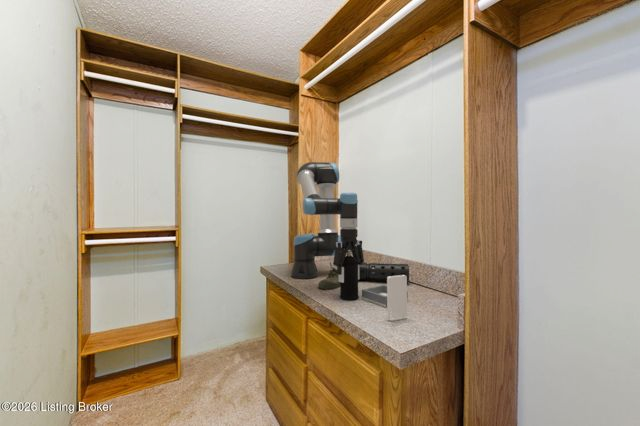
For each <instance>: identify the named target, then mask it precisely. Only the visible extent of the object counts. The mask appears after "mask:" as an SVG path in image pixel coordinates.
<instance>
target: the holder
mask: <svg viewBox="0 0 640 426" xmlns="http://www.w3.org/2000/svg"><path fill="white" fill-rule="evenodd" d="M408 294H409V292H408V291H407V302H409V301H408V300H409V298H408ZM361 300H364V301H366V302H370V303H372V304H375V305H377V306H381V307H382V308H386V309H387V285H385V284H382V285H376V286H373V287H369V288H364V289H361Z"/></svg>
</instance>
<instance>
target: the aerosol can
mask: <svg viewBox="0 0 640 426" xmlns="http://www.w3.org/2000/svg"><path fill="white" fill-rule="evenodd" d="M358 262H359V261H358V260H357V259H356V258H355V257H353V255H352V252H351V250H348V252H347V253H346V256H345V259H344V262H343V265H342V267H344V283H342V282H340V287H339V288H340V291H339V292H340V295H339V298H340V299H342V300H346V301H354V300H357V299H359V297H360V296H359V280H358Z"/></svg>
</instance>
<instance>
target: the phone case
mask: <svg viewBox="0 0 640 426" xmlns="http://www.w3.org/2000/svg"><path fill="white" fill-rule="evenodd" d="M386 286H387V307H386V310H387V312H386V313H387V315H386V316H387V320H389V322H393V321H397V320H398V321H399V320H404V319H407V317H408V301H407V292H408V290H407V289H408V283H407V277H406V276H405V275H398V276H389V277H387V282H386Z"/></svg>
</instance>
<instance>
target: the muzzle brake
mask: <svg viewBox="0 0 640 426" xmlns="http://www.w3.org/2000/svg"><path fill="white" fill-rule="evenodd" d="M398 275H405V276H406V277H407V284H409V282H410V266H409V264H408V263H378V262H369V263H367V262H365V261H364V262H362V265H360V271H359V280H358V281H367V282H385V283H387V277H389V276H398Z"/></svg>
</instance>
